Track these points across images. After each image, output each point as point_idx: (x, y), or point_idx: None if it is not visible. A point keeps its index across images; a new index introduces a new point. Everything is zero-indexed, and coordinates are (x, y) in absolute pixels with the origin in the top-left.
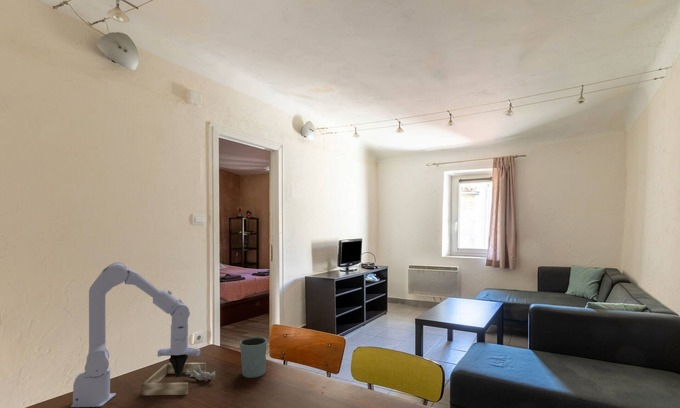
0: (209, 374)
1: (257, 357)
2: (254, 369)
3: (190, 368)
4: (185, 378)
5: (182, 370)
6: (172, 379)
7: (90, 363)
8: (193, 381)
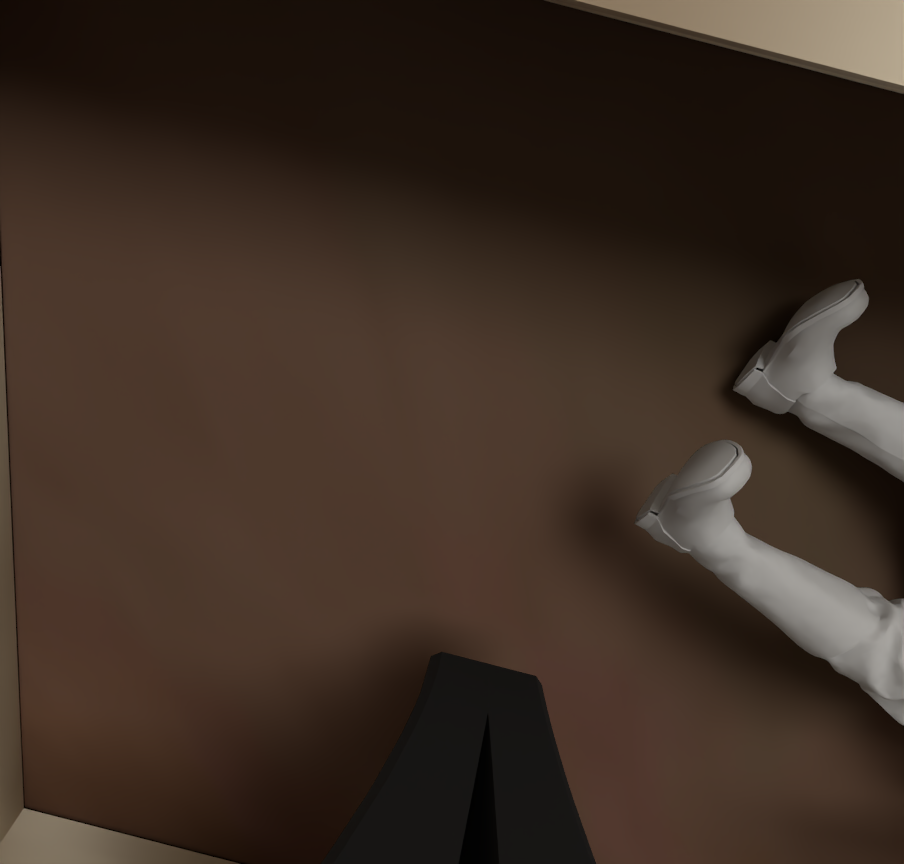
0: None
1: None
2: None
3: (805, 64)
4: (620, 414)
5: (558, 783)
6: (290, 375)
7: None
8: None
